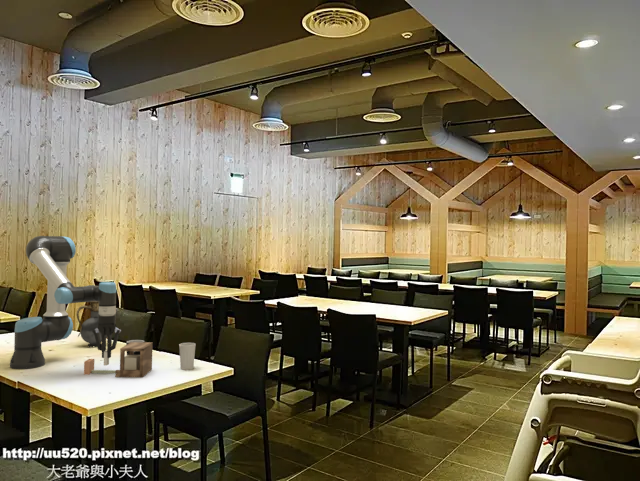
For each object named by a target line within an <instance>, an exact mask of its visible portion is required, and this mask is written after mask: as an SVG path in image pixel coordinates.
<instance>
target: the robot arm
mask: <svg viewBox="0 0 640 481" xmlns="http://www.w3.org/2000/svg"><path fill="white" fill-rule="evenodd" d="M25 255H26V257H27V259H28V261H29V262H30V263H31V264H33V265H35V266H36V267H37V268H38V270H39V271H40V272H41V274H42V275H43V276H44V277H45V279H46V280H47V290H46V292H47V293H46V295H47V296H46V312H45V313H44V314H43V315H42V317H41V316H32V317H31V316H30V317H25V318H20V319H18V320H17V321H16V322H15V325H14V344H13V345H14V346H13V347H14V350H13V354H12V356H11V359H10V361H9V368H10V369H13V370H14V369H16V370H25V369H34V368H35V369H36V368H39V367H42V366H44V365H46V364H45V363H46V359H45V357H44V353H43V351H42V350H43V349H42V343H47V342H48V343H49V342H54V341H61V340H65V339H68V337H70V335H71V334H72V332H73V328H74V323H73V319H72V318H71V317H70V316H69V313H68V312H67V311H66V305H67V304H69V305H70V304H77V303H89V302H92V301H97V302H99V315H100V316H99V321H98V323H99V324H98V327H97V328H96V329H95V330H93V331H92V332H93V333H94V335H95V339H96V344H97V347H96V348H97V350H98V351H101V359H103V366H105V367H106V366H108V365H109V364H110V359H111V357H112V351H113V350H115V349H116V347H117V345H118V344H117V343H118V341H119V336H120V333H121V332H122V329H121V328H120V329H119V328H118V327H117V324H116V322H117V320H116V318H117V317H116V314H117V312H116V311H117V309H116V307H117V285H116V282H111V281H109V282H107V281H105V282H104V281H102V282H99V284H98V285H94V284H93V285H92V284H91V285H86V286H85V285H84V286H83V285H82V286H74V284H73V283H72V282H71V281H70V279H69V278H68V277H67V270H68V269H67V268H68V267H67V266H68V265H69V264H70V263H71V260H72V259H73V258H74V257H75V255H76V245H75V243H74V240H72V239H71V237H68V236H62V235H60V236H59V235H56V236H55V235H38V236H35V237H33V238H32V239H30V240H29V241H28V242H27V243H26V247H25ZM99 331H100V333H101V336H102V342H101V340H100V336H99V333H98V332H99ZM113 333H114V337H113ZM106 336H107V338H106ZM101 344H102V345H101Z"/></svg>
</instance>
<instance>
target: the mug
mask: <svg viewBox="0 0 640 481" xmlns="http://www.w3.org/2000/svg"><path fill="white" fill-rule="evenodd" d="M130 342H145V340H142V339H131V340H126V344H125V345H127V344H129V343H130ZM127 355H130V351H126V356H127ZM134 355H140V351H134Z"/></svg>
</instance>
